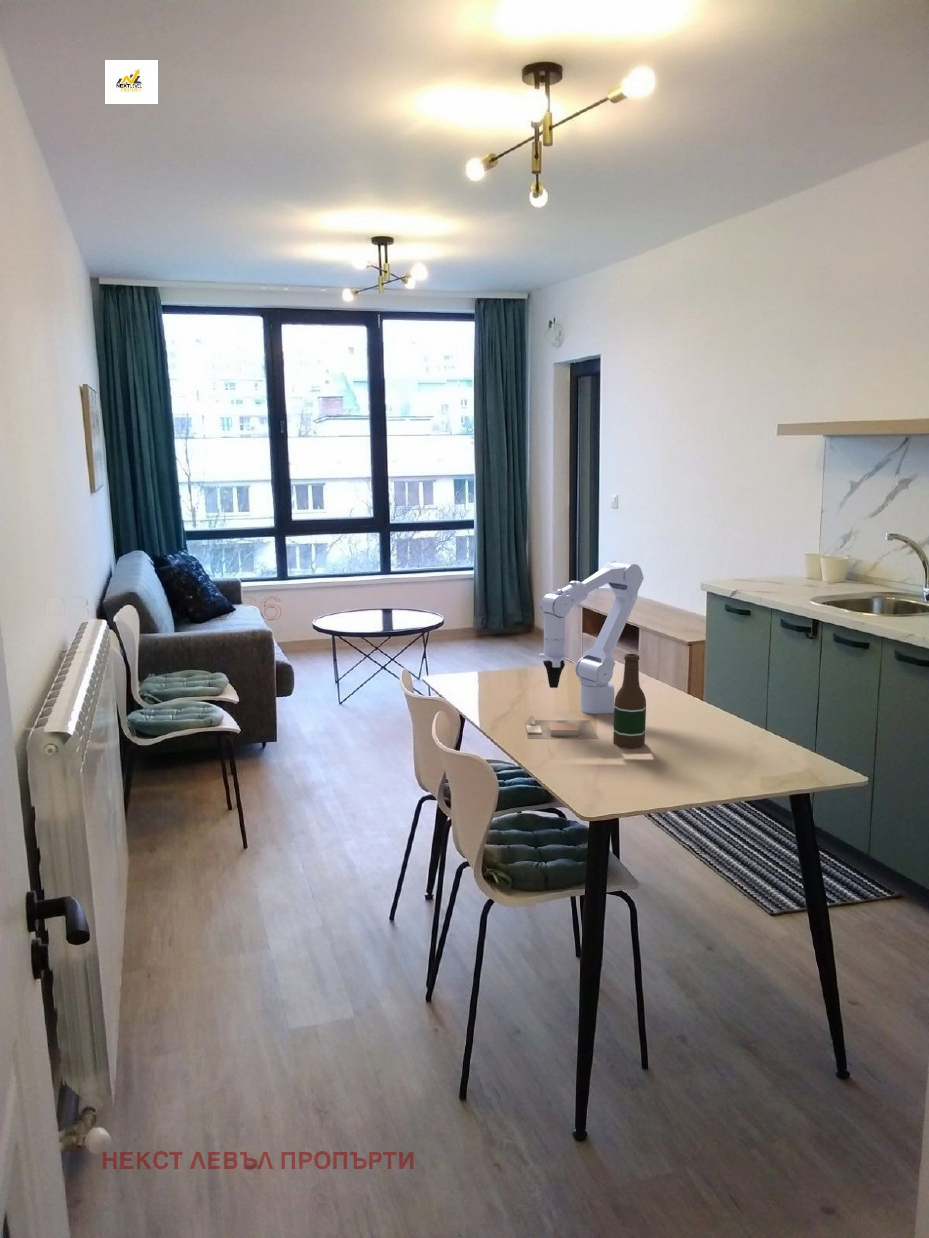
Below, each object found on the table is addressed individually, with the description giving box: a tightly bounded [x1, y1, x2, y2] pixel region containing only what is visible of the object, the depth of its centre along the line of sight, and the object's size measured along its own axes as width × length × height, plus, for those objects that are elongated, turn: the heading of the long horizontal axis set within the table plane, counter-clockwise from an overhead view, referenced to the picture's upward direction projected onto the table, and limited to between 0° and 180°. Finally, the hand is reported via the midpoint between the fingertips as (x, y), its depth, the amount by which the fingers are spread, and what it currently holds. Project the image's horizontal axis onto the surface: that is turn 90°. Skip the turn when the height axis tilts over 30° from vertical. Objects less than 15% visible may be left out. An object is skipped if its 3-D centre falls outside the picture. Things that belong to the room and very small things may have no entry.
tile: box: [549, 723, 578, 736], centre depth 232 cm, size 7×2×6 cm
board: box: [523, 719, 599, 740], centre depth 235 cm, size 18×16×1 cm
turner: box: [525, 715, 542, 734], centre depth 237 cm, size 4×14×1 cm, turn 0°
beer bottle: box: [612, 653, 647, 750], centre depth 221 cm, size 8×8×24 cm
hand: (553, 687), depth 243 cm, fingers closed
